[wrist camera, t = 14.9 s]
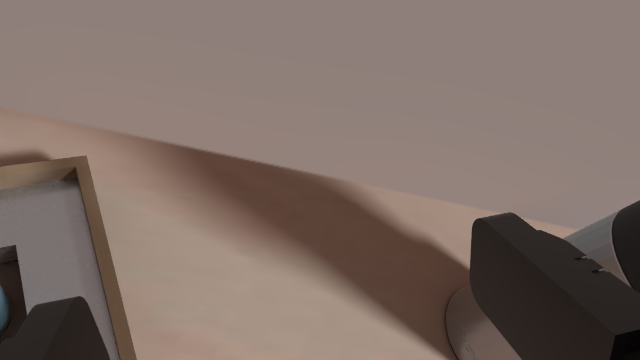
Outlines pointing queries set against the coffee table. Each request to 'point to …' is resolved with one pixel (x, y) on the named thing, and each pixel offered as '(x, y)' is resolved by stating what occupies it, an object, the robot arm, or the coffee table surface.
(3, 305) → the blue-grey painted peg
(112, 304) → the walnut crate
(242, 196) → the coffee table surface
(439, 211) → the coffee table surface
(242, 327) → the coffee table surface
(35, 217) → the grey metal bore plate
